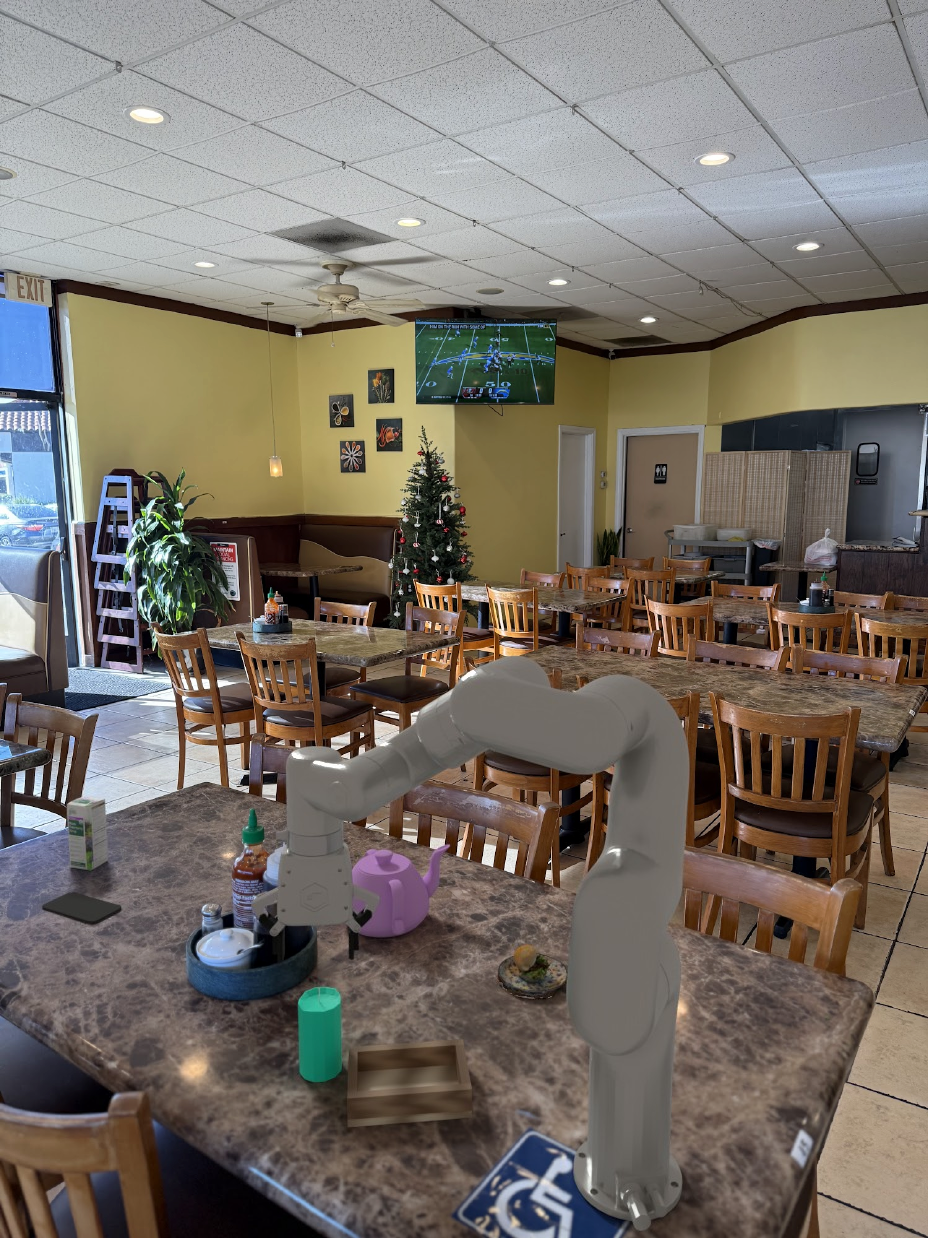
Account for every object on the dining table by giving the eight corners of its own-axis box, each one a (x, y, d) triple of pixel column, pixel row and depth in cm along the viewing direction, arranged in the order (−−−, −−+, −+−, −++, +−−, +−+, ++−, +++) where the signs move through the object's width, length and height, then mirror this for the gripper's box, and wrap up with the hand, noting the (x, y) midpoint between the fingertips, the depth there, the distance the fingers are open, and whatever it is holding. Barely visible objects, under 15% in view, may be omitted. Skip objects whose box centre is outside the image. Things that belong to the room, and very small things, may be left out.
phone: (71, 891, 174) (124, 906, 167) (71, 895, 174) (124, 910, 167) (39, 906, 167) (92, 922, 160) (39, 910, 167) (92, 927, 160)
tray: (462, 1062, 122) (462, 1038, 121) (472, 1117, 111) (472, 1091, 110) (349, 1070, 120) (348, 1045, 119) (347, 1127, 109) (347, 1100, 108)
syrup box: (68, 868, 185) (64, 804, 183) (88, 857, 191) (84, 795, 189) (90, 871, 183) (86, 806, 181) (109, 860, 189) (106, 797, 187)
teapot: (470, 936, 157) (470, 865, 155) (355, 959, 149) (353, 884, 147) (430, 886, 177) (430, 822, 175) (327, 904, 169) (325, 837, 167)
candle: (322, 1049, 125) (321, 972, 123) (351, 1066, 121) (350, 987, 119) (290, 1070, 120) (288, 990, 118) (318, 1088, 116) (317, 1007, 114)
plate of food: (564, 1005, 136) (565, 961, 135) (491, 996, 138) (492, 953, 137) (570, 965, 148) (571, 925, 146) (503, 958, 150) (503, 918, 149)
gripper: (246, 852, 111) (249, 974, 113) (379, 848, 113) (379, 968, 115) (253, 829, 118) (256, 945, 121) (379, 826, 120) (378, 939, 123)
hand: (316, 956), depth 118 cm, fingers open, 9 cm apart
